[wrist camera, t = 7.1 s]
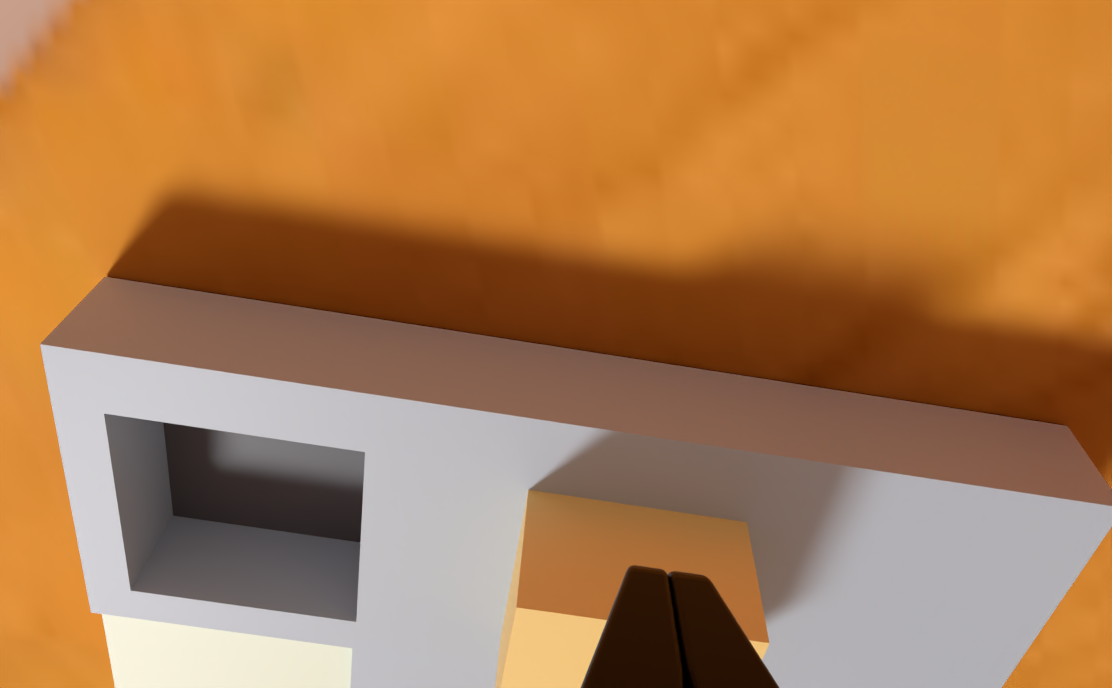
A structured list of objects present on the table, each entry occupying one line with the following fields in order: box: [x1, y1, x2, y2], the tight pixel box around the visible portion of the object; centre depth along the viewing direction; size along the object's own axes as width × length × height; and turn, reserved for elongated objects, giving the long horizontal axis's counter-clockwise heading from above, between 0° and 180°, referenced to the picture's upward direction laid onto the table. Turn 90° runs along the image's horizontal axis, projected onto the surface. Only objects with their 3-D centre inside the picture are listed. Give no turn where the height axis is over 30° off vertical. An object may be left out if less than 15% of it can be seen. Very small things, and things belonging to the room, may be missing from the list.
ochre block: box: [495, 490, 769, 688], centre depth 18 cm, size 4×4×3 cm
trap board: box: [40, 277, 1112, 688], centre depth 22 cm, size 21×15×3 cm
